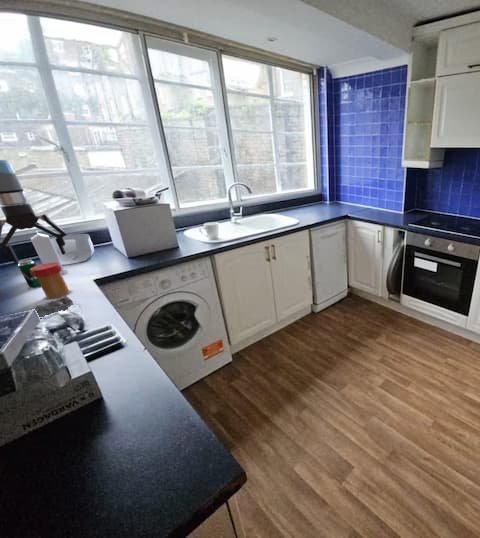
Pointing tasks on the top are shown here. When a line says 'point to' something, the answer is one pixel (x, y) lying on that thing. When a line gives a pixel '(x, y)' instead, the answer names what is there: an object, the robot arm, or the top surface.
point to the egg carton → (53, 306)
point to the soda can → (29, 273)
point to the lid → (45, 269)
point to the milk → (45, 250)
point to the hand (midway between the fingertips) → (41, 257)
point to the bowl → (74, 248)
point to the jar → (53, 286)
